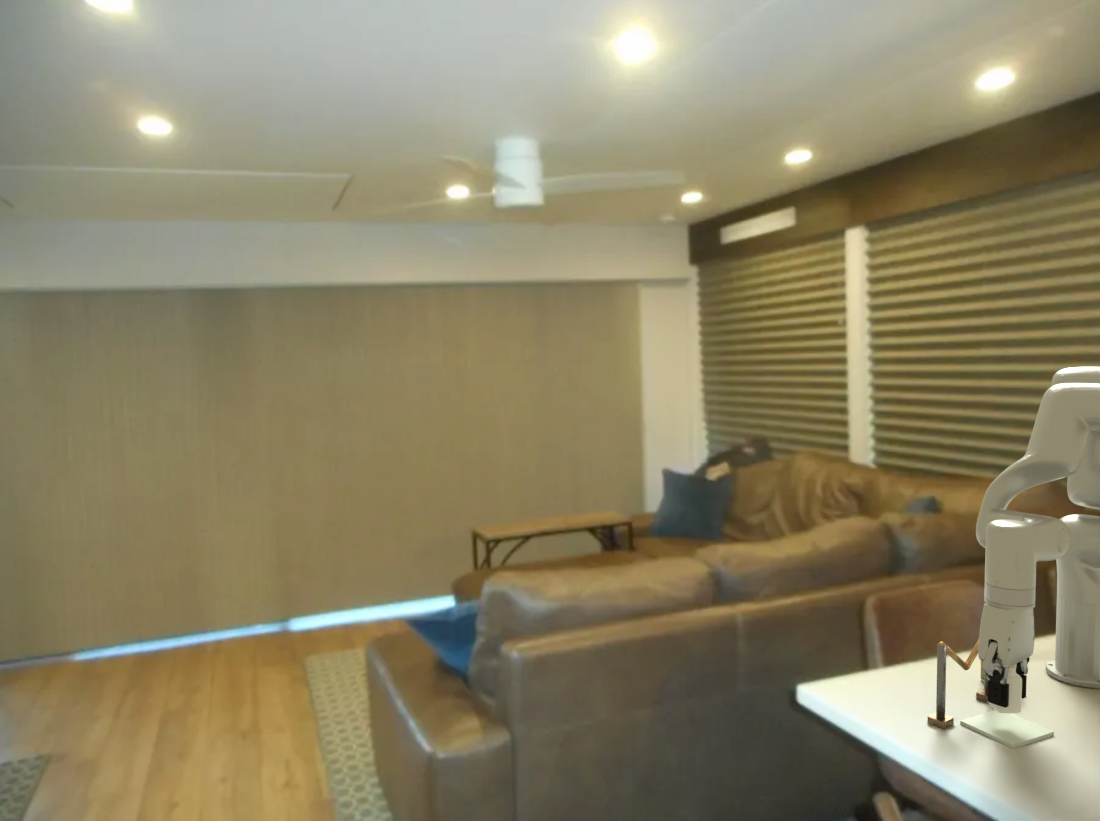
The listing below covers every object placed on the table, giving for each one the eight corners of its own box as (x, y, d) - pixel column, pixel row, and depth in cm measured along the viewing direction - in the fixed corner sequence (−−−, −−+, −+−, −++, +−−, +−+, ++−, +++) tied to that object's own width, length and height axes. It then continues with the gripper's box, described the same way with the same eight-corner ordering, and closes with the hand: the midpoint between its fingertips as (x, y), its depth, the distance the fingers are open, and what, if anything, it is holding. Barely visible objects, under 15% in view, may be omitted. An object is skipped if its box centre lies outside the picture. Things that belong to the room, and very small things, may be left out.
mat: (999, 712, 151) (999, 708, 151) (1053, 735, 142) (1054, 731, 142) (960, 723, 146) (960, 720, 146) (1013, 748, 137) (1013, 744, 137)
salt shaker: (1022, 714, 142) (1024, 658, 141) (999, 714, 142) (1000, 659, 141) (1009, 704, 146) (1011, 650, 145) (986, 704, 146) (987, 650, 145)
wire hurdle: (984, 694, 158) (986, 618, 157) (1000, 700, 156) (1002, 622, 154) (927, 723, 147) (928, 641, 146) (944, 729, 145) (945, 646, 143)
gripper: (1012, 580, 150) (1009, 680, 152) (960, 599, 140) (958, 705, 142) (1057, 590, 144) (1054, 694, 146) (1006, 610, 134) (1003, 721, 136)
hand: (1006, 699), depth 144 cm, fingers closed on salt shaker, 5 cm apart
